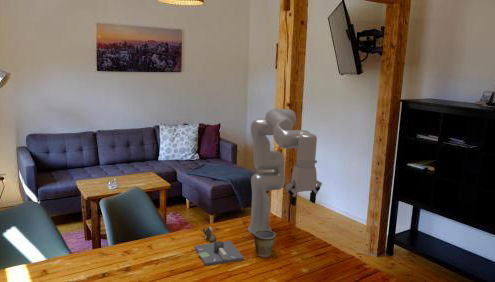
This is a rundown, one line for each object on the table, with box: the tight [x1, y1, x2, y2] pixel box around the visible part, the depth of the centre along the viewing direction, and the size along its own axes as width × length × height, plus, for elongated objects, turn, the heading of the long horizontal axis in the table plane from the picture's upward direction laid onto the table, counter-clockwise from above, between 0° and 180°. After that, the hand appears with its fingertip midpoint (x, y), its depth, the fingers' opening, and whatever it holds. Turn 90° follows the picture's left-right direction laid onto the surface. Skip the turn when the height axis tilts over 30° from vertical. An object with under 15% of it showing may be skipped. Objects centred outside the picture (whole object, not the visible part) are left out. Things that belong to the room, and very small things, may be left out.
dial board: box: [194, 240, 245, 267], centre depth 187 cm, size 18×19×1 cm
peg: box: [214, 240, 227, 260], centre depth 184 cm, size 11×4×4 cm, turn 22°
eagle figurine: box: [199, 226, 217, 244], centre depth 202 cm, size 8×7×9 cm
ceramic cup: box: [253, 229, 277, 258], centre depth 190 cm, size 13×10×10 cm
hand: (302, 203), depth 170 cm, fingers open, 9 cm apart
